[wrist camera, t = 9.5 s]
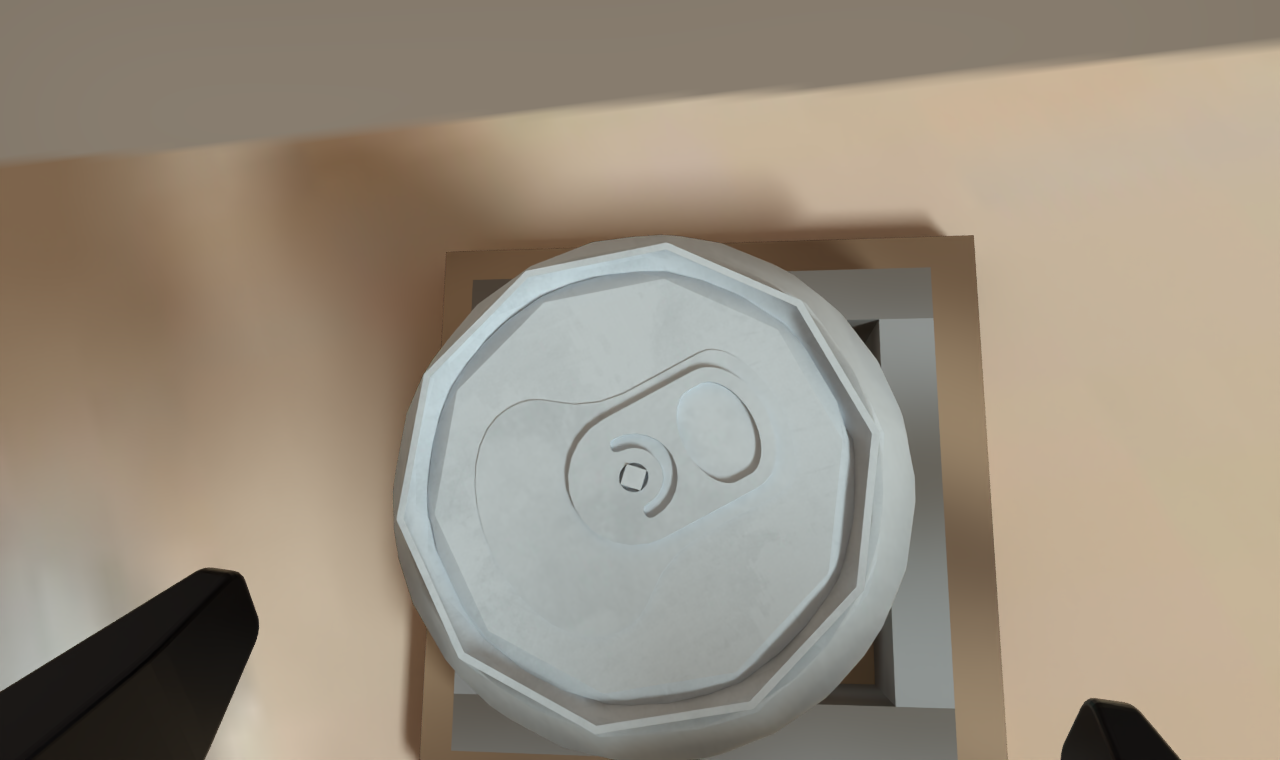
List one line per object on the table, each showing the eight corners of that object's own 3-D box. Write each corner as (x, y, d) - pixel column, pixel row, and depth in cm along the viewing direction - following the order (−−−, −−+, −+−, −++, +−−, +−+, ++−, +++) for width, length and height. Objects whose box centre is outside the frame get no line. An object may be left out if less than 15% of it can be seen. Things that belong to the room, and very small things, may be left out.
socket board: (997, 807, 18) (1056, 869, 14) (434, 783, 19) (367, 834, 16) (962, 250, 20) (1007, 190, 17) (459, 265, 22) (406, 212, 18)
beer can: (553, 472, 19) (261, 361, 8) (743, 369, 19) (749, 96, 7) (653, 674, 18) (499, 911, 6) (855, 567, 18) (1065, 611, 6)
